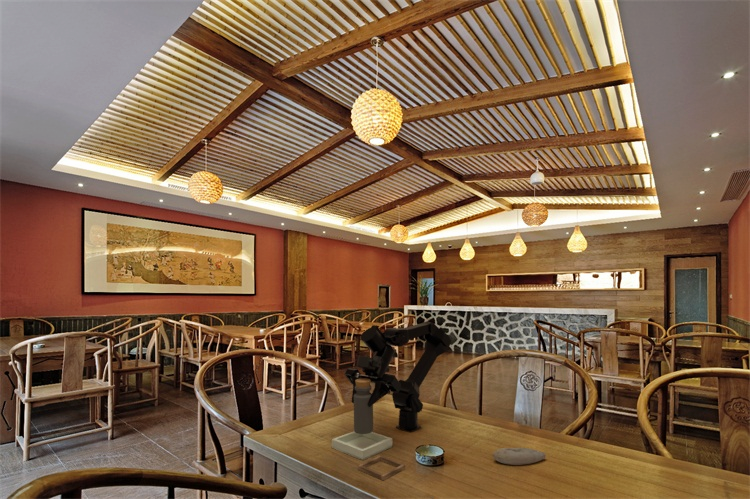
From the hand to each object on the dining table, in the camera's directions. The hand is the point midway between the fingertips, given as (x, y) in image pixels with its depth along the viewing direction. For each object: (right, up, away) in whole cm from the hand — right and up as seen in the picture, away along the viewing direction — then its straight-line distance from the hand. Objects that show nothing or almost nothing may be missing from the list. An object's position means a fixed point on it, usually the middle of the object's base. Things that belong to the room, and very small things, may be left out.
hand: (360, 404), depth 122 cm
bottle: (+1, -8, 0) cm, 8 cm away
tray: (+1, -13, 0) cm, 13 cm away
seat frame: (+6, -12, -14) cm, 19 cm away
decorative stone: (+45, -13, -9) cm, 47 cm away
